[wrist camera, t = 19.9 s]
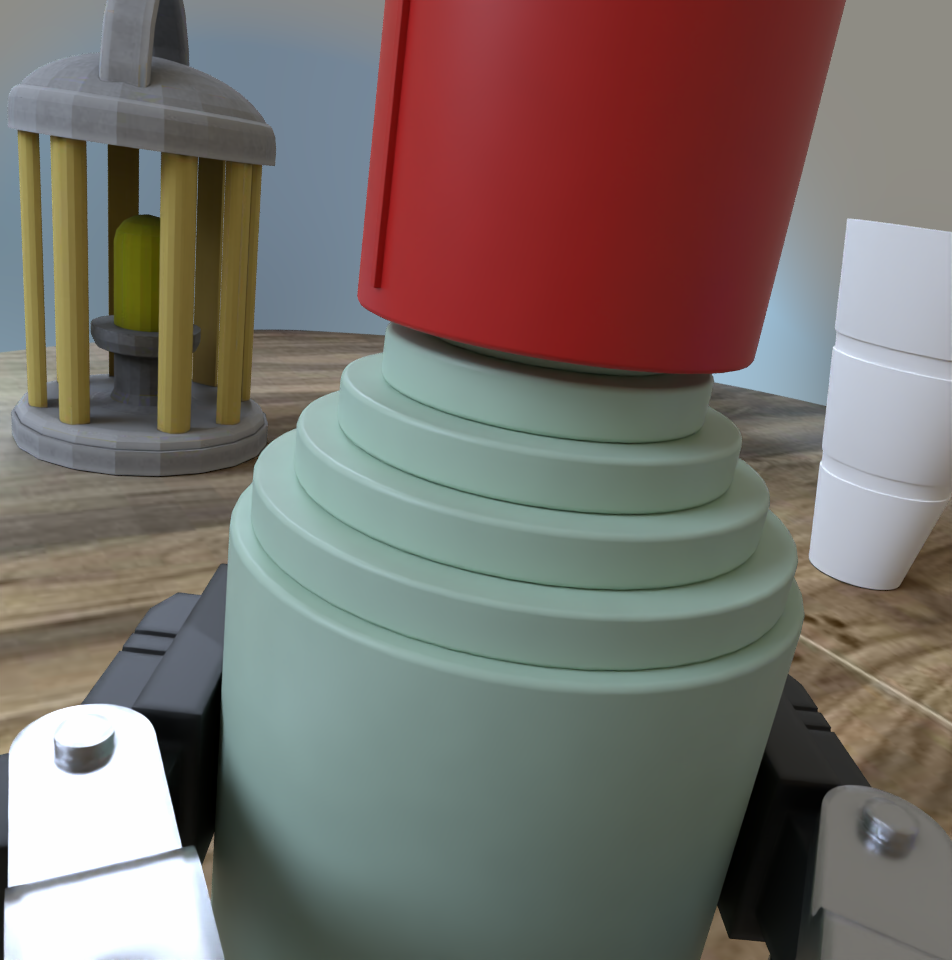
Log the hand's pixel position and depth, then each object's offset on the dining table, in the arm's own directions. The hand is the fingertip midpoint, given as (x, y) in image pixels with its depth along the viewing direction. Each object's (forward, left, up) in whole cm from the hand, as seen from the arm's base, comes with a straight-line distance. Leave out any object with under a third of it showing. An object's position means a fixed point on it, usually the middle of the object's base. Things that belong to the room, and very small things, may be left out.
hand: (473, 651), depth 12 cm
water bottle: (-1, -2, -10) cm, 10 cm away
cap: (-1, -2, +5) cm, 6 cm away
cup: (+36, +15, -11) cm, 40 cm away
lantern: (+4, +42, -11) cm, 44 cm away
